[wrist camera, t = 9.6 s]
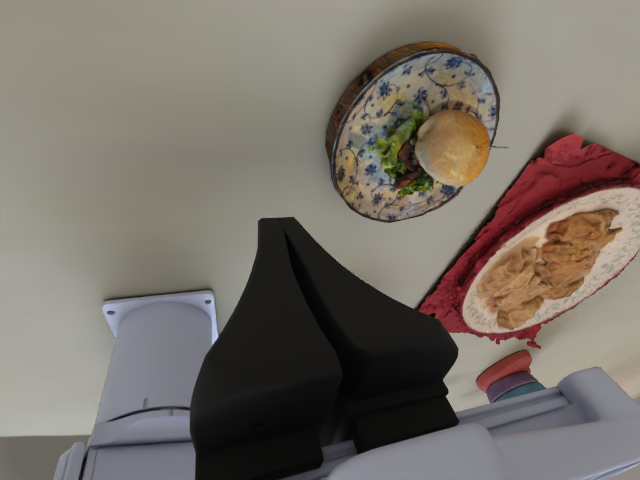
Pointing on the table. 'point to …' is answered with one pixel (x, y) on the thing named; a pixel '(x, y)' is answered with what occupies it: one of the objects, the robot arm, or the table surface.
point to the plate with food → (545, 244)
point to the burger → (412, 131)
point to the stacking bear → (509, 378)
